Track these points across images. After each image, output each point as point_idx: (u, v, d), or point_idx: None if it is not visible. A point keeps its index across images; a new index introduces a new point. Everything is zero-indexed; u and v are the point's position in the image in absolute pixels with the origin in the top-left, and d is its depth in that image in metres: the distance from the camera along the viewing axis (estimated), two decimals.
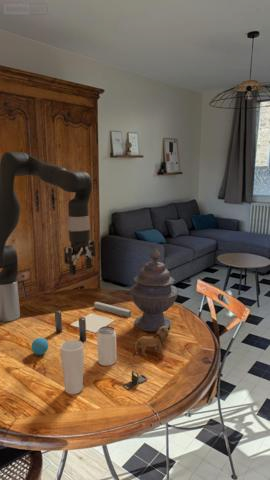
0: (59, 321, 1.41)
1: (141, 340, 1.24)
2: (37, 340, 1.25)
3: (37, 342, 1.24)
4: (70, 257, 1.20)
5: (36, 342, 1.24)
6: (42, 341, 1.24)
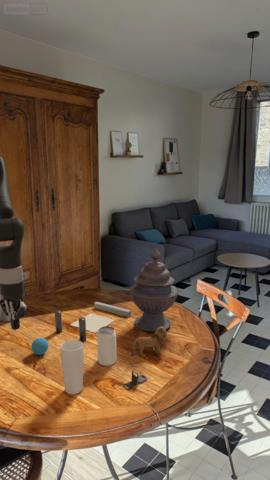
0: (59, 321, 1.41)
1: (139, 340, 1.23)
2: (37, 340, 1.25)
3: (37, 342, 1.24)
4: None
5: (36, 342, 1.24)
6: (42, 341, 1.24)
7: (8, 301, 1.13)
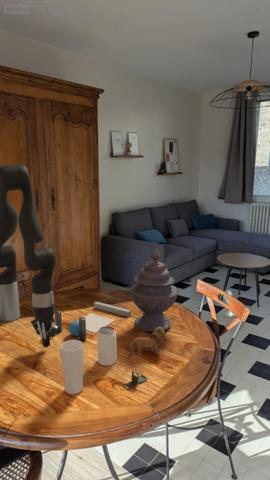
0: (59, 321, 1.41)
1: (137, 341, 1.23)
2: (71, 327, 1.37)
3: (73, 329, 1.37)
4: None
5: (72, 329, 1.37)
6: (76, 326, 1.37)
7: (40, 322, 1.26)
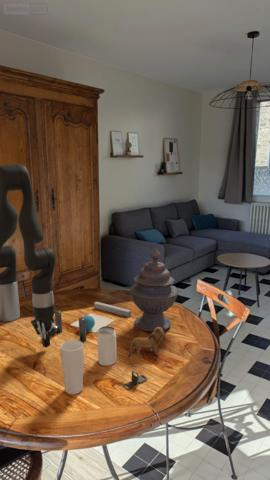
0: (59, 321, 1.41)
1: (136, 341, 1.23)
2: None
3: (92, 317, 1.45)
4: None
5: None
6: (94, 320, 1.45)
7: (40, 322, 1.26)
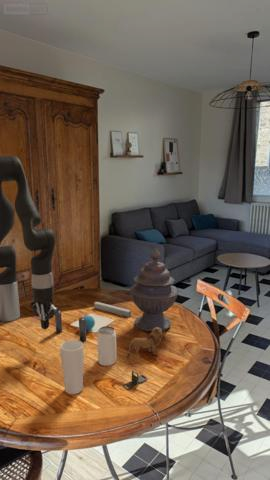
0: (59, 321, 1.41)
1: (135, 341, 1.23)
2: None
3: (92, 317, 1.45)
4: None
5: None
6: (94, 320, 1.45)
7: (39, 303, 1.25)
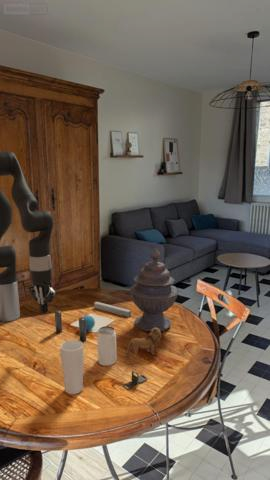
0: (59, 321, 1.41)
1: (133, 342, 1.22)
2: None
3: (92, 317, 1.45)
4: None
5: None
6: (94, 320, 1.45)
7: (38, 287, 1.23)
